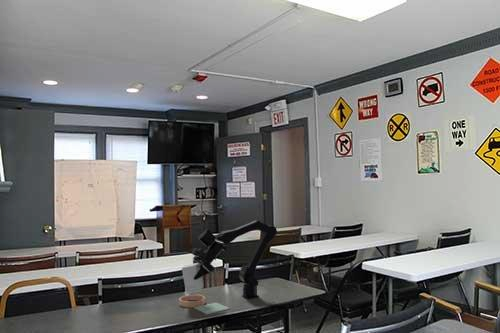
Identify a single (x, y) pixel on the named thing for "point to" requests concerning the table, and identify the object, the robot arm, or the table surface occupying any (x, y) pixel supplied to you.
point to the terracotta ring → (186, 303)
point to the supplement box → (192, 278)
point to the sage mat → (211, 308)
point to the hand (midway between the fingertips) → (191, 277)
